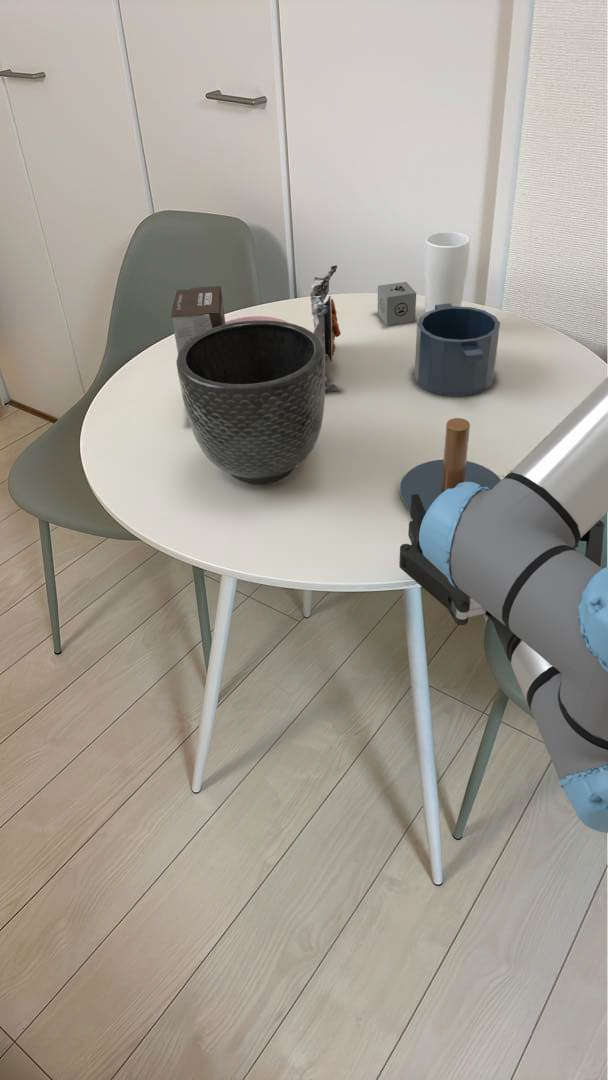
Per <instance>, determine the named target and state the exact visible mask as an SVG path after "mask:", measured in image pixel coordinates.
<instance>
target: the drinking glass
mask: <svg viewBox="0 0 608 1080" xmlns="http://www.w3.org/2000/svg"><path fill="white" fill-rule="evenodd" d="M424 243H425V244H424V254H423V285H424V286H423V287H424V314H425V313H427V312H428V311H432V310H435V305H440V304H449V303H450V304H451V305H452V307H453V306H459V307H462V302H463V299H464V297H463V296H464V292H465V286H466V279H467V275H468V269H469V261H470V249H471V248H470V246H471V238H470V237H469V236H468V235H466V234H464V233H461V232H455V231H439V232H435V233H432V234H428V236H426V238H425V242H424Z"/></svg>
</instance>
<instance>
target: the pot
mask: <svg viewBox="0 0 608 1080" xmlns="http://www.w3.org/2000/svg"><path fill="white" fill-rule="evenodd" d="M500 327H501V322H500V321H499V319H498V318H497V316H496V315H494V314H492V313H490V312H489V311H486V310H485V309H480V308H477V307H472V306H461V307H459V306H453V307H452V305H451V304H450V303H449V304H440V305H435V310H432V311H428V312H427V313H425V312H424V313H423V314H422V315H421V316H419V318H418V319H417V323H416V337H415V338H416V339H415V340H416V341H415V359H414V360H415V361H414V378H415V381H416V384H418V385H419V387H421V388H422V389H423V390H425V391H427V392H429V393H432V394H435V395H439V396H444V397H467V396H468V397H469V396H473V395H476V394H481V393H482V392H484V391H486V390H487V389H488V388H490V387H491V386H492V384H493V381H494V375H495V368H496V361H497V353H498V351H497V350H498V345H499V338H500V337H499V335H500V329H501V328H500Z"/></svg>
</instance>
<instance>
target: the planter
mask: <svg viewBox="0 0 608 1080" xmlns="http://www.w3.org/2000/svg"><path fill="white" fill-rule="evenodd" d="M287 322H288V321H286V322H280V321H270V320H252V321H242V322H235V323H230V324H225V325H222V326H218V327H215V328H212V329H209V330H207V331H205V332H203V333H200V334H198V335H197V336H195V337H194V338H192V339H191V340H189V341H188V342H187V343H186V344H185V345H184V346H183V347H182V349H181V350H180V352H179V354H178V353H177V358H176V370H177V376H178V381H179V385H180V386H179V387H180V391H181V397H182V402H183V404H184V407H185V412H186V416H187V418H188V419H187V420H188V422H189V425H190V429H191V431H192V434H193V437H194V439H195V440H196V442H197V445H198V446H199V449H200V450H201V452H202V453H203V454H204V455H205V456H206V458H207V459H208V460H209V461H210V462H211V463H212V464H213V465H215V466H216V467H217V468H219V469H220V470H222V471H224V472H225V473H227V474H230V475H231V476H232V477H233V478H234V479H235V480H238V481H239V482H242V483H246V484H251V485H268V484H273V483H276V482H279V481H281V480H283V479H285V478H286V477H288V476H289V475H291V474H292V473H293V472H294V471H295V469H296V468H297V467H298V466H299V465H300V464H301V463H303V462H304V461H305V460H306V459H307V458H308V457H309V455H310V454H311V452H312V451H313V450H314V448H315V446H316V444H317V442H318V439H319V437H320V434H321V430H322V426H323V420H324V413H325V400H326V392H325V377H326V376H325V375H326V357H325V356H324V349H323V345H322V343H321V341H320V339H319V338H318V337H317V336H316V335H315V334H313V332H312V331H311V330H309V329H307V328H305V327H303V326H300V325H298V324H295V323H290V322H288V323H287Z"/></svg>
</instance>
